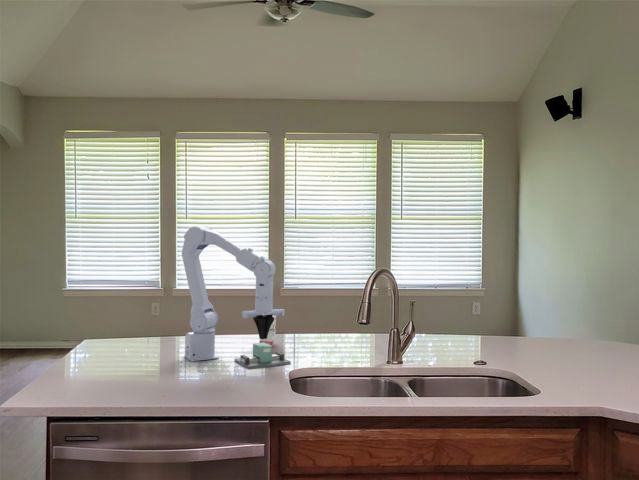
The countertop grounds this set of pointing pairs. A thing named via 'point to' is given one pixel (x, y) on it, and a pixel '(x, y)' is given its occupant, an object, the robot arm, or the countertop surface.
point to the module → (262, 352)
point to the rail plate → (254, 362)
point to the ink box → (270, 334)
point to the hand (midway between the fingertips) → (263, 338)
